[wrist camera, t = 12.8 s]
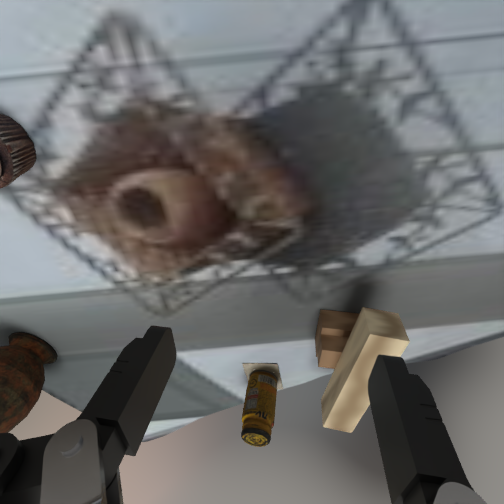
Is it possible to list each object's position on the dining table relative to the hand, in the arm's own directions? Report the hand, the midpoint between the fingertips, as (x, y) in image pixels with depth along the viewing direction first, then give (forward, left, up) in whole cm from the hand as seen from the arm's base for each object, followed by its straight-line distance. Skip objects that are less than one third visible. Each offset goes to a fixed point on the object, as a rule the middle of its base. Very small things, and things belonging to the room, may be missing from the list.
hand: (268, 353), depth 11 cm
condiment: (+2, +44, -28) cm, 52 cm away
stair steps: (-12, +27, -28) cm, 41 cm away
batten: (-12, +27, -21) cm, 36 cm away
